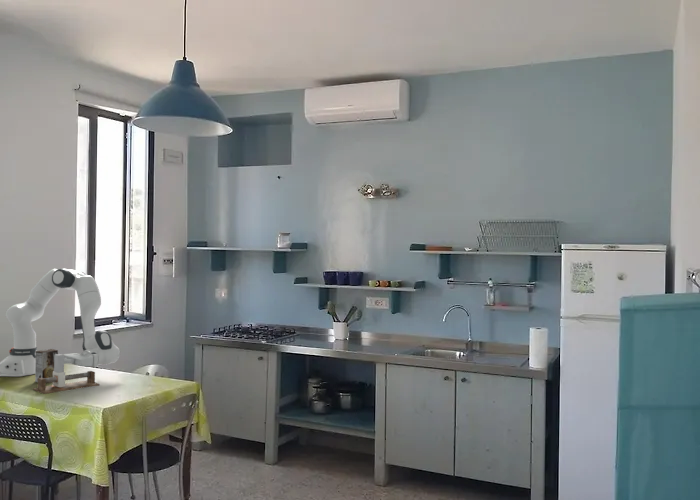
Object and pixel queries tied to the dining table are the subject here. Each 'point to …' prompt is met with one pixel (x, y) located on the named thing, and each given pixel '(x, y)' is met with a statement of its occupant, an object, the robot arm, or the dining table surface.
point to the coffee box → (44, 363)
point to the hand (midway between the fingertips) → (62, 361)
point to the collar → (59, 370)
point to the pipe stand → (68, 386)
